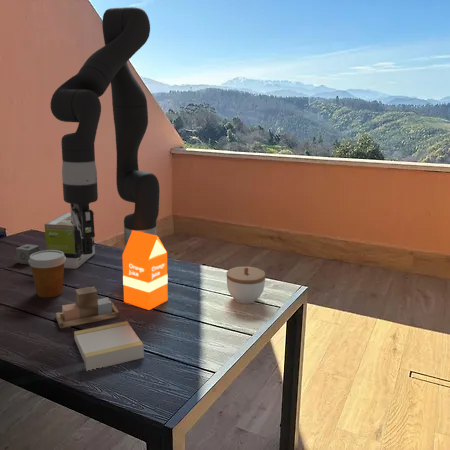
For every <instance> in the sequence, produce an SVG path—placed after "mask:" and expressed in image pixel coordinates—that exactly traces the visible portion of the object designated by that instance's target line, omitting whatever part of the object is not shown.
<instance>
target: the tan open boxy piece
mask: <svg viewBox="0 0 450 450" xmlns="http://www.w3.org/2000/svg"><path fill="white" fill-rule="evenodd" d="M98 299H99V298H98V290H97V289H96V287H95V286H94V285H93V286H87V287H81V288H76V289H75V303H77V305H78V307H79V312H80V319H77V320H71V321H66V322H64V320H63V315H62V312H55V319H56V321H57V324H58V326H59V328H60V329H64V328H68V327H73V326H79V325H84V324H89V323H95V322H99V321H104V320H109V319H115V318H119V317H120V311H119V310H118V308H117V306H116V304H114V303H113V302H112V313H108V314H103V315H98Z"/></svg>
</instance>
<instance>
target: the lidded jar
mask: <svg viewBox="0 0 450 450" xmlns="http://www.w3.org/2000/svg"><path fill="white" fill-rule="evenodd" d="M266 277H267V274H266V272H265V271H264V270H263V269H260V268H258V267H254V266H236V267H232V268H230V269H228V270H227V272H226V287H227V289H228V290H227V291H228V293H229V294H230V296H231V297H232V299H233V300H234V301H235V302H237V303H239V304H243V305H244V304H245V305H246V304H254V303H255V302H256V301H257V300H258V299H259V298H260V297H261V296H262V294H263V292H264V289H265V285H266V284H265V283H266Z"/></svg>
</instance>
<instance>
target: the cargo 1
mask: <svg viewBox="0 0 450 450" xmlns="http://www.w3.org/2000/svg"><path fill="white" fill-rule="evenodd" d="M61 310H62V311H61V313H62V315H63V320H64V322H66V321H71V320H77V319H80V312H79V307H78V305H77V303H76V302H74V303H70V304H68V303H67V304H63V305H61Z"/></svg>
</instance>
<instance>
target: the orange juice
mask: <svg viewBox="0 0 450 450" xmlns="http://www.w3.org/2000/svg"><path fill="white" fill-rule="evenodd" d="M121 254H122V256H121V257H122V285H123V302H124V303H127V304H129V305H133V306H135V307H139V308H142V309H144V310H145V309H146V310H148V311H150V310H152V309H153V308H156V307H157V306H159V305H162V304H164V303H165V302H167V301H168V293H169V292H168V278H169V277H168V276H169V275H168V251H167V250H166V248H165V247H164V244H163V243H162V241H161V239H160V238H159V236H158V235H157V234H156V235H151V234H147V233H142V232H138V231H133V230H132V233H131V235H130V238H129V240H128V243H127V245H126V247H125V246H124V250H123V253H121Z"/></svg>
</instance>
